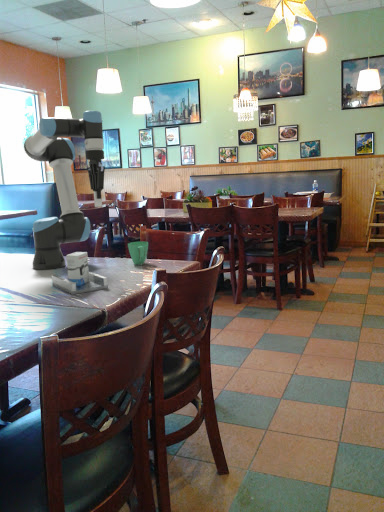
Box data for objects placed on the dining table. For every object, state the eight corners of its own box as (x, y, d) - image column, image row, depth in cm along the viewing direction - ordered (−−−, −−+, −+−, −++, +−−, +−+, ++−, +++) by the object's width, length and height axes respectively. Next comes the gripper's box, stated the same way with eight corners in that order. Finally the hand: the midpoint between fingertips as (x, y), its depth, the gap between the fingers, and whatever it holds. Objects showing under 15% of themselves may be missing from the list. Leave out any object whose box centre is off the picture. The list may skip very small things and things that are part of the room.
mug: (127, 262, 218) (126, 242, 217) (146, 261, 221) (145, 241, 220) (132, 268, 205) (131, 246, 203) (153, 266, 208) (152, 245, 206)
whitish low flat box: (52, 285, 176) (51, 275, 175) (85, 279, 184) (85, 270, 183) (72, 294, 160) (71, 283, 159) (107, 288, 168) (107, 277, 168)
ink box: (79, 286, 167) (77, 255, 165) (68, 286, 168) (65, 255, 166) (90, 281, 175) (88, 251, 173) (78, 280, 177) (76, 251, 175)
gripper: (79, 150, 189) (83, 206, 193) (92, 148, 178) (96, 207, 182) (96, 150, 193) (99, 205, 197) (109, 148, 183) (113, 206, 187)
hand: (98, 206), depth 190 cm, fingers closed
